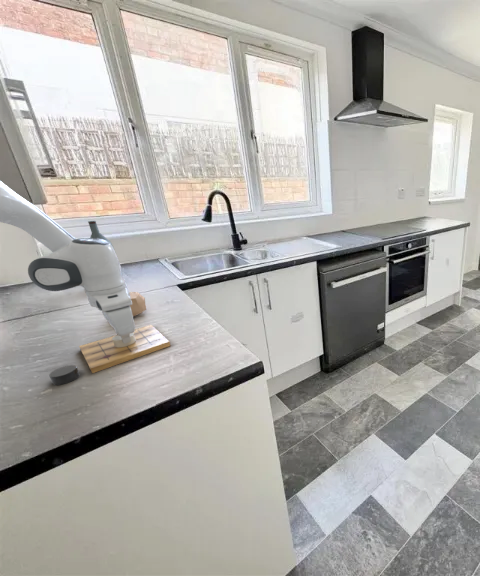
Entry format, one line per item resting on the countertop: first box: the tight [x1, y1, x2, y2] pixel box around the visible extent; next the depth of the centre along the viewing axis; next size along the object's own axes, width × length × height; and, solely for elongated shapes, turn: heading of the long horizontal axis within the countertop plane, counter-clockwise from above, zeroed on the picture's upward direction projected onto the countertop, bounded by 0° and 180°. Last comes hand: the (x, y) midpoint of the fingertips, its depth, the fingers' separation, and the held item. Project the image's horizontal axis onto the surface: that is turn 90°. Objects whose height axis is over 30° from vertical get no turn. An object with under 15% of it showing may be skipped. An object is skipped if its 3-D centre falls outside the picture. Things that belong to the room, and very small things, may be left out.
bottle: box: [87, 220, 124, 278], centre depth 144 cm, size 9×9×30 cm
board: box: [78, 324, 172, 374], centre depth 92 cm, size 18×18×2 cm
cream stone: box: [112, 333, 136, 348], centre depth 92 cm, size 5×5×2 cm
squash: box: [129, 291, 147, 317], centre depth 116 cm, size 11×20×9 cm, turn 37°
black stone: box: [48, 364, 81, 386], centre depth 78 cm, size 5×5×2 cm
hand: (124, 338), depth 92 cm, fingers closed on cream stone, 5 cm apart
